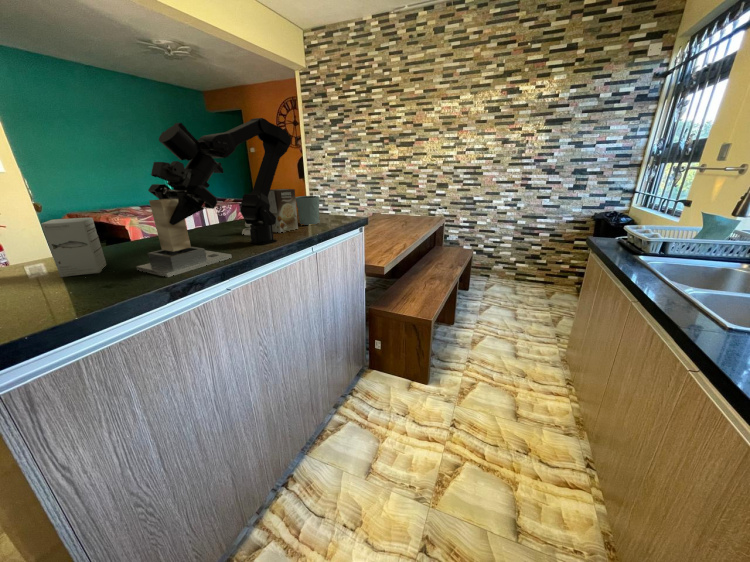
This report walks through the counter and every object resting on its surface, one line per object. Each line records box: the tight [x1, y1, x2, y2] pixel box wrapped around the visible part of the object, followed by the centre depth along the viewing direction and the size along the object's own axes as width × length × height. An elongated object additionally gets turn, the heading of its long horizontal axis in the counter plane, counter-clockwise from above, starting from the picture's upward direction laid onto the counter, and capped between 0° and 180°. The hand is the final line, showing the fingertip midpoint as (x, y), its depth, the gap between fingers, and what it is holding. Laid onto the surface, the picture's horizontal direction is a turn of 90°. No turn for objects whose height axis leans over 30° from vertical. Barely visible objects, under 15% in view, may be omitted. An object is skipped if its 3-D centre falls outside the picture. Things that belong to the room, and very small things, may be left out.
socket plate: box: [135, 246, 232, 278], centre depth 80 cm, size 18×12×4 cm, turn 155°
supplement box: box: [41, 217, 107, 278], centre depth 73 cm, size 7×7×13 cm
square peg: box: [148, 199, 192, 252], centre depth 76 cm, size 5×5×12 cm
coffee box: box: [268, 188, 299, 234], centre depth 121 cm, size 9×6×16 cm
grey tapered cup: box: [295, 195, 320, 225], centre depth 135 cm, size 10×10×12 cm
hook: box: [239, 209, 252, 236], centre depth 117 cm, size 8×12×7 cm
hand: (164, 223), depth 74 cm, fingers closed on square peg, 5 cm apart
